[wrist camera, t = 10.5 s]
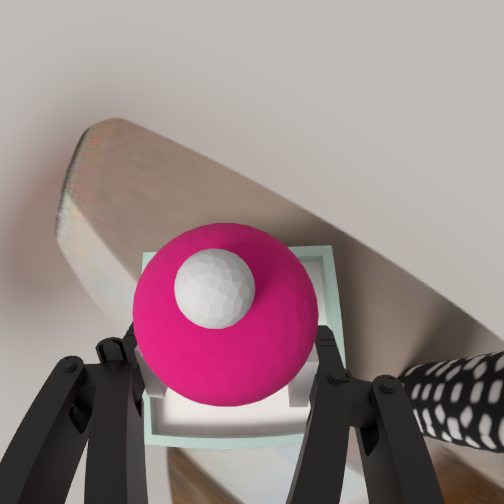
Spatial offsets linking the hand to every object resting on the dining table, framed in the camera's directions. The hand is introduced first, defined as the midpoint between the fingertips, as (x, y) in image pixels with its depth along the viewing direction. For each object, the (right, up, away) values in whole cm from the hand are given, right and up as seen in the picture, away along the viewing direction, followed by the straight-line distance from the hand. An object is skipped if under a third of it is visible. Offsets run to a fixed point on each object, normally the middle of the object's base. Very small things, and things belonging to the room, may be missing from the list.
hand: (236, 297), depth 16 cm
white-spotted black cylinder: (+20, -15, +11) cm, 27 cm away
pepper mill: (0, -6, +8) cm, 10 cm away
